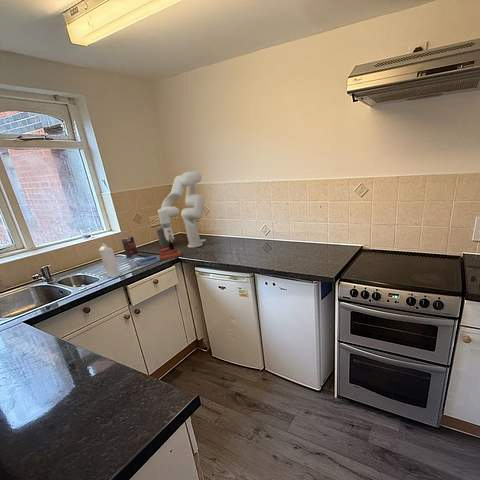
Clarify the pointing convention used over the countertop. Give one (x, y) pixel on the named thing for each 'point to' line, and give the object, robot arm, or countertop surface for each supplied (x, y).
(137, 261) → the pale blue tray
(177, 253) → the terracotta tray
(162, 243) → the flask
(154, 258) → the blue spoon
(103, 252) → the milk
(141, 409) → the countertop surface
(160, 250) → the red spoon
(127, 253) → the supplement box
